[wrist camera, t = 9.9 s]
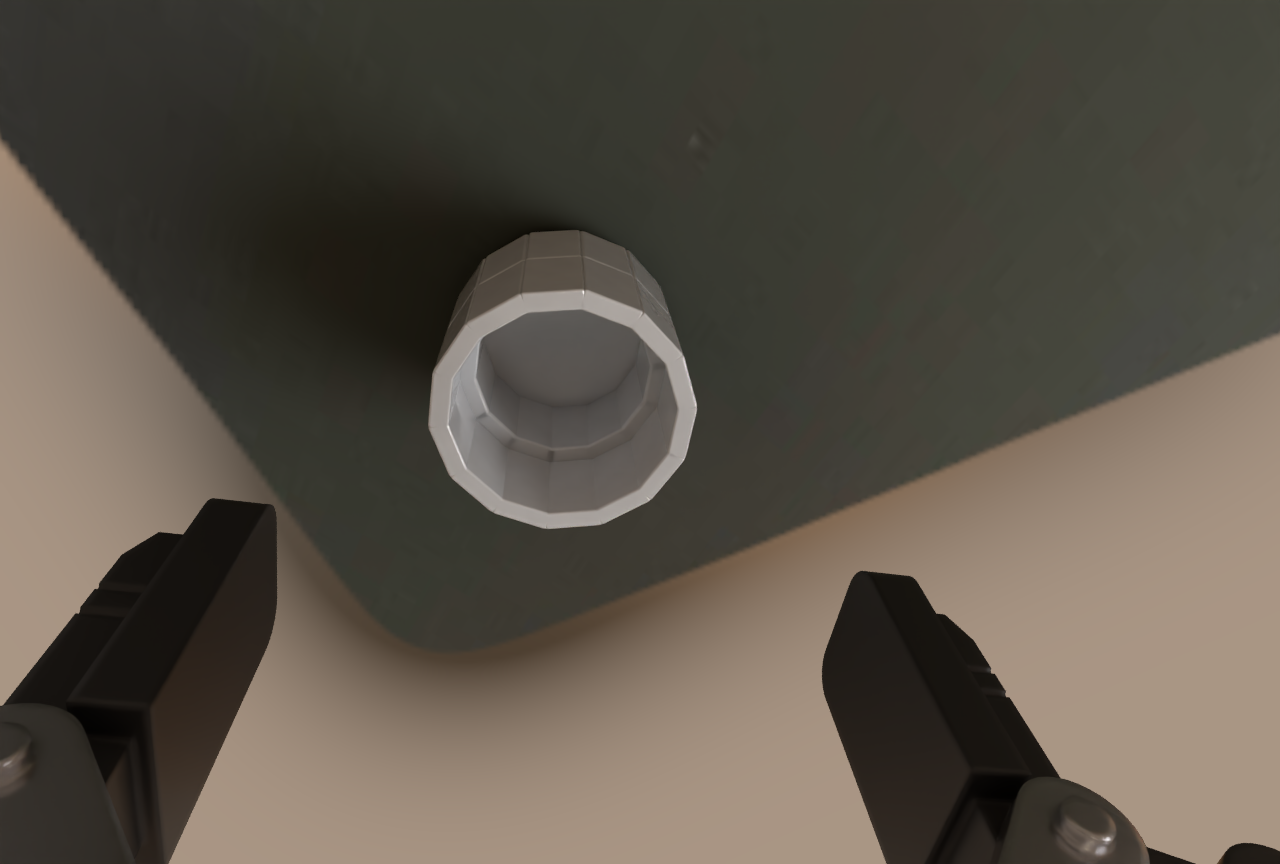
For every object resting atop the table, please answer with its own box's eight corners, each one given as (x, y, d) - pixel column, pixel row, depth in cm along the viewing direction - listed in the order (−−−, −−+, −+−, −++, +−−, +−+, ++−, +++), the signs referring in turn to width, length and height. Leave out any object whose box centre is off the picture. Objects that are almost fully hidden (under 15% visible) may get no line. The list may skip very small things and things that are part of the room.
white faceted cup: (448, 410, 22) (420, 515, 17) (468, 205, 20) (441, 267, 15) (645, 436, 23) (665, 542, 18) (686, 242, 20) (721, 311, 16)
